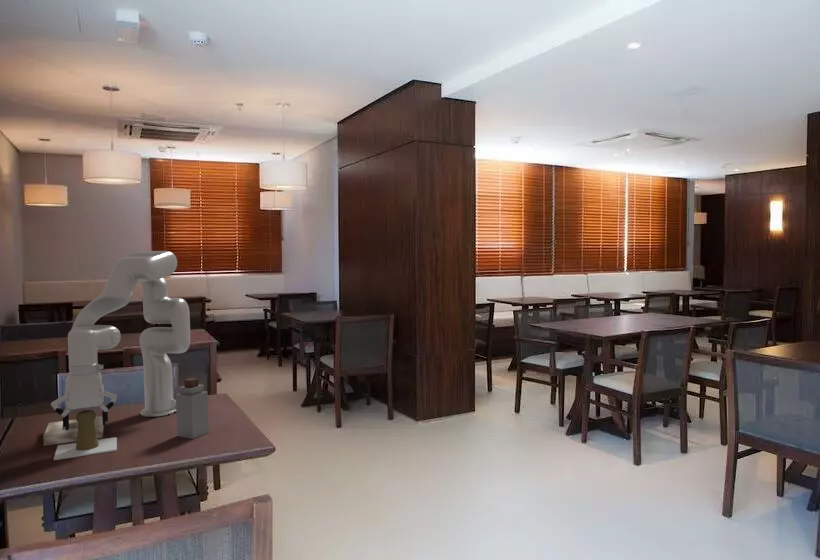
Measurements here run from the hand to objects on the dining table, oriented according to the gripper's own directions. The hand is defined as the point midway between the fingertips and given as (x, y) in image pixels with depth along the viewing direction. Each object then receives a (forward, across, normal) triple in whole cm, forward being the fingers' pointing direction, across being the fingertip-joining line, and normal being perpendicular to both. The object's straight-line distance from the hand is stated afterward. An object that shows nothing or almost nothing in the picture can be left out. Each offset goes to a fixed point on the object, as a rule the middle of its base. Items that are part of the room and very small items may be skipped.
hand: (86, 426), depth 172 cm
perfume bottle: (+7, -30, +1) cm, 31 cm away
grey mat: (+7, 0, 0) cm, 7 cm away
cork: (+6, 0, 0) cm, 7 cm away
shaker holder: (+7, +4, -18) cm, 20 cm away
